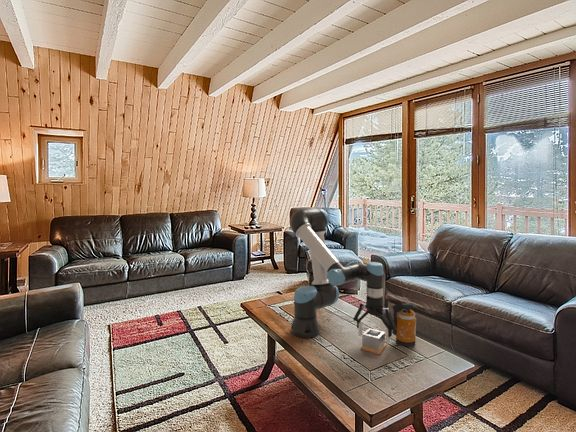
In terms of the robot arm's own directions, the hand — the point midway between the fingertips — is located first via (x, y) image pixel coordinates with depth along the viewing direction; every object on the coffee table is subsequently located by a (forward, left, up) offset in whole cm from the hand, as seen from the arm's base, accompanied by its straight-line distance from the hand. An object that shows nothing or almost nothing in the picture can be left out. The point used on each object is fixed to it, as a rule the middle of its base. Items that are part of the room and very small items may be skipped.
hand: (373, 339), depth 163 cm
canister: (+10, +13, -4) cm, 17 cm away
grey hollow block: (0, 0, -3) cm, 3 cm away
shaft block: (0, 0, -4) cm, 4 cm away
